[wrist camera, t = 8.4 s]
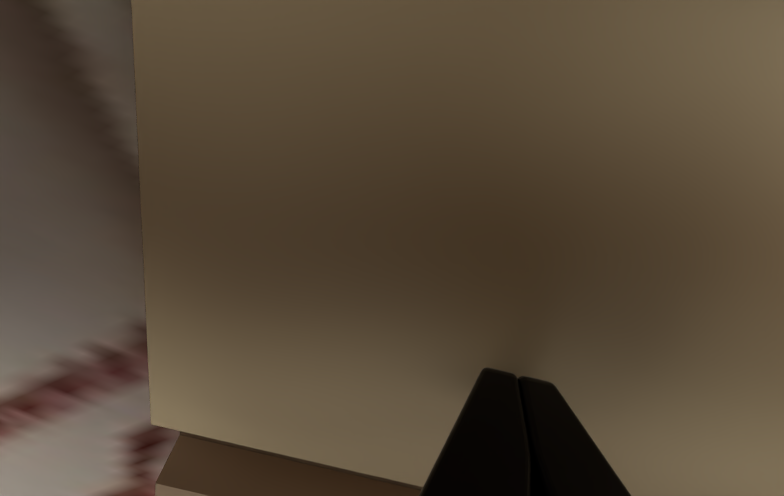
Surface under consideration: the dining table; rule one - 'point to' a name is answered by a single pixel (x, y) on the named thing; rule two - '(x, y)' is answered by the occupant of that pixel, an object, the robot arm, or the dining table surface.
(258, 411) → the click plank
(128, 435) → the dining table surface
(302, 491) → the floor board
